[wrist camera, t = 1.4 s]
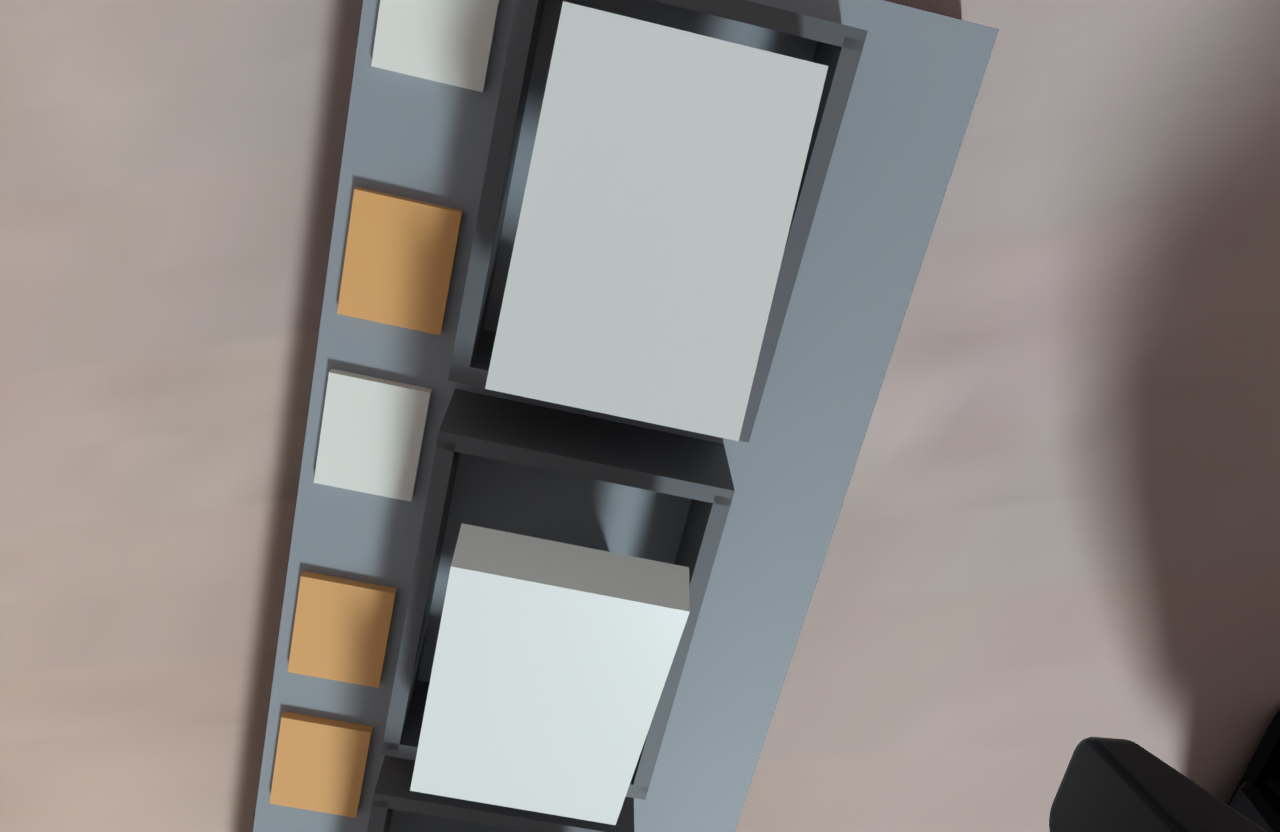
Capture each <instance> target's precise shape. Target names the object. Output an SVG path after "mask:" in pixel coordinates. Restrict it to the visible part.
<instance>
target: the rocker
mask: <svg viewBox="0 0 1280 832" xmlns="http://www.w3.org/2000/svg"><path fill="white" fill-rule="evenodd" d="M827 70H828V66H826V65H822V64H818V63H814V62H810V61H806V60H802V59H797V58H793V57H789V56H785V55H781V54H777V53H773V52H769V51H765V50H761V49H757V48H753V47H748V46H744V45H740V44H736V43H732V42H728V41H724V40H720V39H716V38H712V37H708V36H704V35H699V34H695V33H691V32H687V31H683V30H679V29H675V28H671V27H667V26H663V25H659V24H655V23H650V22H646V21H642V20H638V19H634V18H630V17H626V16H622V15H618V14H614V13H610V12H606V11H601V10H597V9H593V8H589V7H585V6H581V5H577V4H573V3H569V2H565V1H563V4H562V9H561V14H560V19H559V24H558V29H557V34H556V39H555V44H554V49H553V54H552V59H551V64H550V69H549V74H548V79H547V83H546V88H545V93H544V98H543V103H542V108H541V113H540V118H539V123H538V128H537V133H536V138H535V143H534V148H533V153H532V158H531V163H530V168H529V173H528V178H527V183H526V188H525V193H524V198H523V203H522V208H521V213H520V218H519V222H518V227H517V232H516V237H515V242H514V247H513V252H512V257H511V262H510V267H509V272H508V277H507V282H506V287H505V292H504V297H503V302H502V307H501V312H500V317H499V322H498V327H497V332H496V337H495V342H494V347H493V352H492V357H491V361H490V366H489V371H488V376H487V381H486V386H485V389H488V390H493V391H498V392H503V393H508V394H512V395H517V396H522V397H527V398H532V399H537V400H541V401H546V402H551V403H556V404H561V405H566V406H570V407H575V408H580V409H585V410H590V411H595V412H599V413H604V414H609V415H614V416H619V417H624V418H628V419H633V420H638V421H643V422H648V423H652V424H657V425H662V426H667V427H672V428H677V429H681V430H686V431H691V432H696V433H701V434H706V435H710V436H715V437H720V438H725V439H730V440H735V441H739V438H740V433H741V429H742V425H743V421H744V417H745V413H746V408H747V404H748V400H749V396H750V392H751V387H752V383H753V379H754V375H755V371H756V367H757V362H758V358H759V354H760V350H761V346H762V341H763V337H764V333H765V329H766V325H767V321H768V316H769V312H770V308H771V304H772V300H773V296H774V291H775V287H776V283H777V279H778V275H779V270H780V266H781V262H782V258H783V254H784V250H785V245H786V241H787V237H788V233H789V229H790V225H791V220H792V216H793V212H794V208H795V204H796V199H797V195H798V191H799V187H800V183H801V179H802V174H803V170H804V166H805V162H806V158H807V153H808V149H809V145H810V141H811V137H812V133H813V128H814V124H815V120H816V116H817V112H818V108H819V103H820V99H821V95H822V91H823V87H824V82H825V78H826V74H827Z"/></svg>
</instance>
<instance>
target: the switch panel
mask: <svg viewBox="0 0 1280 832" xmlns="http://www.w3.org/2000/svg"><path fill="white" fill-rule="evenodd" d="M563 1H565V2H569V3H573V4H577V5H581V6H585V7H589V8H593V9H597V10H601V11H606V12H610V13H614V14H618V15H622V16H626V17H630V18H634V19H638V20H642V21H646V22H650V23H655V24H659V25H663V26H667V27H671V28H675V29H679V30H683V31H687V32H691V33H695V34H699V35H704V36H708V37H712V38H716V39H720V40H724V41H728V42H732V43H736V44H740V45H744V46H748V47H753V48H757V49H761V50H765V51H769V52H773V53H777V54H781V55H785V56H789V57H793V58H797V59H802V60H806V61H810V62H814V63H818V64H822V65H826V66H828V70H827V74H826V78H825V82H824V87H823V91H822V95H821V99H820V103H819V108H818V112H817V116H816V120H815V124H814V128H813V133H812V137H811V141H810V145H809V149H808V153H807V158H806V162H805V166H804V170H803V174H802V179H801V183H800V187H799V191H798V195H797V199H796V204H795V208H794V212H793V216H792V220H791V225H790V229H789V233H788V237H787V241H786V245H785V250H784V254H783V258H782V262H781V266H780V270H779V275H778V279H777V283H776V287H775V291H774V296H773V300H772V304H771V308H770V312H769V316H768V321H767V325H766V329H765V333H764V337H763V341H762V346H761V350H760V354H759V358H758V362H757V367H756V371H755V375H754V379H753V383H752V387H751V392H750V396H749V400H748V404H747V408H746V413H745V417H744V421H743V425H742V429H741V433H740V438H739V441H735V440H730V439H725V438H720V437H715V436H710V435H706V434H701V433H696V432H691V431H686V430H681V429H677V428H672V427H667V426H662V425H657V424H652V423H648V422H643V421H638V420H633V419H628V418H624V417H619V416H614V415H609V414H604V413H599V412H595V411H590V410H585V409H580V408H575V407H570V406H566V405H561V404H556V403H551V402H546V401H541V400H537V399H532V398H527V397H522V396H517V395H512V394H508V393H503V392H498V391H493V390H488V389H485V386H486V381H487V376H488V371H489V366H490V361H491V357H492V352H493V347H494V342H495V337H496V332H497V327H498V322H499V317H500V312H501V307H502V302H503V297H504V292H505V287H506V282H507V277H508V272H509V267H510V262H511V257H512V252H513V247H514V242H515V237H516V232H517V227H518V222H519V218H520V213H521V208H522V203H523V198H524V193H525V188H526V183H527V178H528V173H529V168H530V163H531V158H532V153H533V148H534V143H535V138H536V133H537V128H538V123H539V118H540V113H541V108H542V103H543V98H544V93H545V88H546V83H547V79H548V74H549V69H550V64H551V59H552V54H553V49H554V44H555V39H556V34H557V29H558V24H559V19H560V14H561V9H562V4H563ZM998 31H999V29H995V28H992V27H988V26H984V25H980V24H976V23H972V22H968V21H964V20H960V19H956V18H952V17H948V16H944V15H940V14H936V13H932V12H928V11H924V10H920V9H916V8H912V7H908V6H904V5H900V4H896V3H893V2H889V1H885V0H363V5H362V12H361V20H360V27H359V35H358V42H357V50H356V58H355V65H354V73H353V80H352V88H351V95H350V103H349V110H348V118H347V125H346V133H345V140H344V148H343V155H342V163H341V170H340V178H339V186H338V193H337V201H336V208H335V216H334V223H333V231H332V238H331V246H330V253H329V261H328V268H327V276H326V283H325V291H324V299H323V306H322V314H321V321H320V329H319V336H318V344H317V351H316V359H315V366H314V374H313V381H312V389H311V396H310V404H309V411H308V419H307V427H306V434H305V442H304V449H303V457H302V464H301V472H300V479H299V487H298V494H297V502H296V509H295V517H294V524H293V532H292V540H291V547H290V555H289V562H288V570H287V577H286V585H285V592H284V600H283V607H282V615H281V622H280V630H279V637H278V645H277V652H276V660H275V668H274V675H273V683H272V690H271V698H270V705H269V713H268V720H267V728H266V735H265V743H264V750H263V758H262V765H261V773H260V781H259V788H258V796H257V803H256V811H255V818H254V826H253V832H734V831H735V828H736V825H737V822H738V819H739V816H740V813H741V810H742V807H743V804H744V801H745V798H746V795H747V792H748V789H749V786H750V783H751V780H752V777H753V774H754V771H755V768H756V765H757V761H758V758H759V755H760V752H761V749H762V746H763V743H764V740H765V737H766V734H767V731H768V728H769V725H770V722H771V719H772V716H773V713H774V710H775V707H776V704H777V701H778V698H779V695H780V692H781V689H782V686H783V683H784V680H785V677H786V674H787V671H788V667H789V664H790V661H791V658H792V655H793V652H794V649H795V646H796V643H797V640H798V637H799V634H800V631H801V628H802V625H803V622H804V619H805V616H806V613H807V610H808V607H809V604H810V601H811V598H812V595H813V592H814V589H815V586H816V583H817V580H818V577H819V574H820V570H821V567H822V564H823V561H824V558H825V555H826V552H827V549H828V546H829V543H830V540H831V537H832V534H833V531H834V528H835V525H836V522H837V519H838V516H839V513H840V510H841V507H842V504H843V501H844V498H845V495H846V492H847V489H848V486H849V483H850V480H851V476H852V473H853V470H854V467H855V464H856V461H857V458H858V455H859V452H860V449H861V446H862V443H863V440H864V437H865V434H866V431H867V428H868V425H869V422H870V419H871V416H872V413H873V410H874V407H875V404H876V401H877V398H878V395H879V392H880V389H881V386H882V382H883V379H884V376H885V373H886V370H887V367H888V364H889V361H890V358H891V355H892V352H893V349H894V346H895V343H896V340H897V337H898V334H899V331H900V328H901V325H902V322H903V319H904V316H905V313H906V310H907V307H908V304H909V301H910V298H911V295H912V292H913V289H914V285H915V282H916V279H917V276H918V273H919V270H920V267H921V264H922V261H923V258H924V255H925V252H926V249H927V246H928V243H929V240H930V237H931V234H932V231H933V228H934V225H935V222H936V219H937V216H938V213H939V210H940V207H941V204H942V201H943V198H944V195H945V191H946V188H947V185H948V182H949V179H950V176H951V173H952V170H953V167H954V164H955V161H956V158H957V155H958V152H959V149H960V146H961V143H962V140H963V137H964V134H965V131H966V128H967V125H968V122H969V119H970V116H971V113H972V110H973V107H974V104H975V101H976V97H977V94H978V91H979V88H980V85H981V82H982V79H983V76H984V73H985V70H986V67H987V64H988V61H989V58H990V55H991V52H992V49H993V46H994V43H995V40H996V37H997V34H998ZM462 523H463V524H468V525H473V526H479V527H484V528H489V529H494V530H499V531H504V532H510V533H515V534H520V535H525V536H530V537H535V538H540V539H546V540H551V541H556V542H561V543H566V544H571V545H577V546H582V547H587V548H592V549H597V550H602V551H607V552H613V553H618V554H623V555H628V556H633V557H638V558H644V559H649V560H654V561H659V562H664V563H669V564H674V565H680V566H685V567H689V589H690V613H689V616H688V619H687V621H686V624H685V627H684V630H683V633H682V636H681V639H680V642H679V644H678V647H677V650H676V653H675V656H674V659H673V662H672V665H671V667H670V670H669V673H668V676H667V679H666V682H665V685H664V687H663V690H662V693H661V696H660V699H659V702H658V705H657V708H656V710H655V713H654V716H653V719H652V722H651V725H650V728H649V731H648V733H647V736H646V739H645V742H644V745H643V748H642V751H641V753H640V756H639V759H638V762H637V765H636V768H635V771H634V774H633V776H632V779H631V782H630V785H629V788H628V791H627V794H626V797H625V799H624V802H623V805H622V808H621V811H620V814H619V817H618V820H617V822H616V825H611V824H605V823H599V822H593V821H587V820H581V819H575V818H569V817H563V816H557V815H551V814H545V813H540V812H534V811H528V810H522V809H516V808H510V807H504V806H498V805H492V804H486V803H480V802H474V801H468V800H462V799H456V798H450V797H445V796H439V795H433V794H427V793H421V792H415V791H410V788H411V782H412V777H413V771H414V766H415V760H416V755H417V749H418V744H419V738H420V733H421V727H422V722H423V716H424V711H425V705H426V700H427V694H428V689H429V683H430V678H431V672H432V667H433V661H434V656H435V650H436V645H437V639H438V634H439V628H440V623H441V617H442V612H443V606H444V601H445V595H446V590H447V584H448V579H449V573H450V568H451V563H452V559H453V555H454V551H455V548H456V544H457V540H458V536H459V532H460V528H461V524H462Z"/></svg>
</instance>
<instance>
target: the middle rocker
mask: <svg viewBox="0 0 1280 832" xmlns="http://www.w3.org/2000/svg"><path fill="white" fill-rule="evenodd" d="M689 613H690V589H689V567H685V566H680V565H674V564H669V563H664V562H659V561H654V560H649V559H644V558H638V557H633V556H628V555H623V554H618V553H613V552H607V551H602V550H597V549H592V548H587V547H582V546H577V545H571V544H566V543H561V542H556V541H551V540H546V539H540V538H535V537H530V536H525V535H520V534H515V533H510V532H504V531H499V530H494V529H489V528H484V527H479V526H473V525H468V524H463V523H462V524H461V528H460V532H459V536H458V540H457V544H456V548H455V551H454V555H453V559H452V563H451V568H450V573H449V579H448V584H447V590H446V595H445V601H444V606H443V612H442V617H441V623H440V628H439V634H438V639H437V645H436V650H435V656H434V661H433V667H432V672H431V678H430V683H429V689H428V694H427V700H426V705H425V711H424V716H423V722H422V727H421V733H420V738H419V744H418V749H417V755H416V760H415V766H414V771H413V777H412V782H411V788H410V791H415V792H421V793H427V794H433V795H439V796H445V797H450V798H456V799H462V800H468V801H474V802H480V803H486V804H492V805H498V806H504V807H510V808H516V809H522V810H528V811H534V812H540V813H545V814H551V815H557V816H563V817H569V818H575V819H581V820H587V821H593V822H599V823H605V824H611V825H616V822H617V820H618V817H619V814H620V811H621V808H622V805H623V802H624V799H625V797H626V794H627V791H628V788H629V785H630V782H631V779H632V776H633V774H634V771H635V768H636V765H637V762H638V759H639V756H640V753H641V751H642V748H643V745H644V742H645V739H646V736H647V733H648V731H649V728H650V725H651V722H652V719H653V716H654V713H655V710H656V708H657V705H658V702H659V699H660V696H661V693H662V690H663V687H664V685H665V682H666V679H667V676H668V673H669V670H670V667H671V665H672V662H673V659H674V656H675V653H676V650H677V647H678V644H679V642H680V639H681V636H682V633H683V630H684V627H685V624H686V621H687V619H688V616H689Z"/></svg>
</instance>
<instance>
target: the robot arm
mask: <svg viewBox="0 0 1280 832" xmlns="http://www.w3.org/2000/svg"><path fill="white" fill-rule="evenodd" d="M1049 827H1050V832H1280V711H1279V712H1278V713H1277V714H1276V716H1275V717H1274V718H1273V720H1272V722H1271V724H1270V726H1269V728H1268V729H1267V731H1266V733H1265V735H1264V737H1263V739H1262V741H1261V743H1260V745H1259V747H1258V748H1257V750H1256V752H1255V754H1254V756H1253V758H1252V760H1251V762H1250V764H1249V766H1248V768H1247V769H1246V771H1245V773H1244V775H1243V777H1242V779H1241V781H1240V783H1239V785H1238V787H1237V788H1236V790H1235V792H1234V794H1233V796H1232V798H1231V800H1230V802H1229V804H1228V805H1227V804H1226V803H1224V802H1223V801H1221V800H1220V799H1218V798H1217V797H1215V796H1214V795H1212V794H1211V793H1209V792H1208V791H1206V790H1205V789H1203V788H1202V787H1200V786H1199V785H1197V784H1196V783H1194V782H1193V781H1191V780H1190V779H1188V778H1187V777H1185V776H1184V775H1182V774H1181V773H1179V772H1178V771H1176V770H1175V769H1174V768H1172V767H1171V766H1169V765H1168V764H1166V763H1165V762H1163V761H1162V760H1160V759H1159V758H1157V757H1156V756H1154V755H1153V754H1151V753H1150V752H1148V751H1147V750H1145V749H1144V748H1142V747H1141V746H1139V745H1138V744H1136V743H1134V742H1132V741H1129V740H1124V739H1113V738H1100V737H1089V738H1086V739H1084V740H1082V741H1081V742H1080V743H1079V744H1078V745H1077V747H1076V749H1075V750H1074V753H1073V755H1072V758H1071V760H1070V763H1069V765H1068V767H1067V770H1066V772H1065V775H1064V777H1063V780H1062V782H1061V784H1060V787H1059V789H1058V792H1057V794H1056V797H1055V799H1054V801H1053V804H1052V807H1051V811H1050V818H1049Z"/></svg>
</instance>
